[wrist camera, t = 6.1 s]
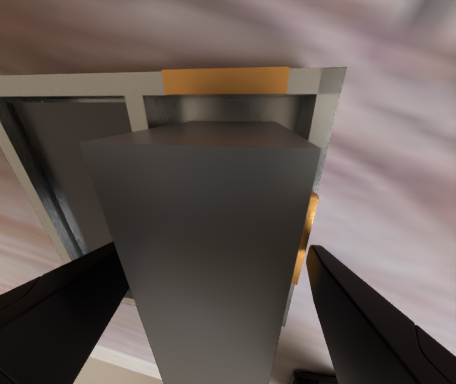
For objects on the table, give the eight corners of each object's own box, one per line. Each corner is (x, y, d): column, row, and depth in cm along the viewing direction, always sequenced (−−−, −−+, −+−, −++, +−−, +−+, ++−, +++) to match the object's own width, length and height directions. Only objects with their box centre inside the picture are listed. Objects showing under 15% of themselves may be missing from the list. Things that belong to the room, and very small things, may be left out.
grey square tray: (279, 290, 13) (285, 331, 11) (107, 270, 15) (78, 301, 12) (319, 79, 7) (351, 64, 5) (31, 84, 9) (-50, 75, 7)
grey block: (258, 276, 12) (263, 408, 7) (202, 270, 13) (165, 388, 7) (275, 121, 8) (321, 148, 3) (190, 121, 8) (79, 143, 3)
